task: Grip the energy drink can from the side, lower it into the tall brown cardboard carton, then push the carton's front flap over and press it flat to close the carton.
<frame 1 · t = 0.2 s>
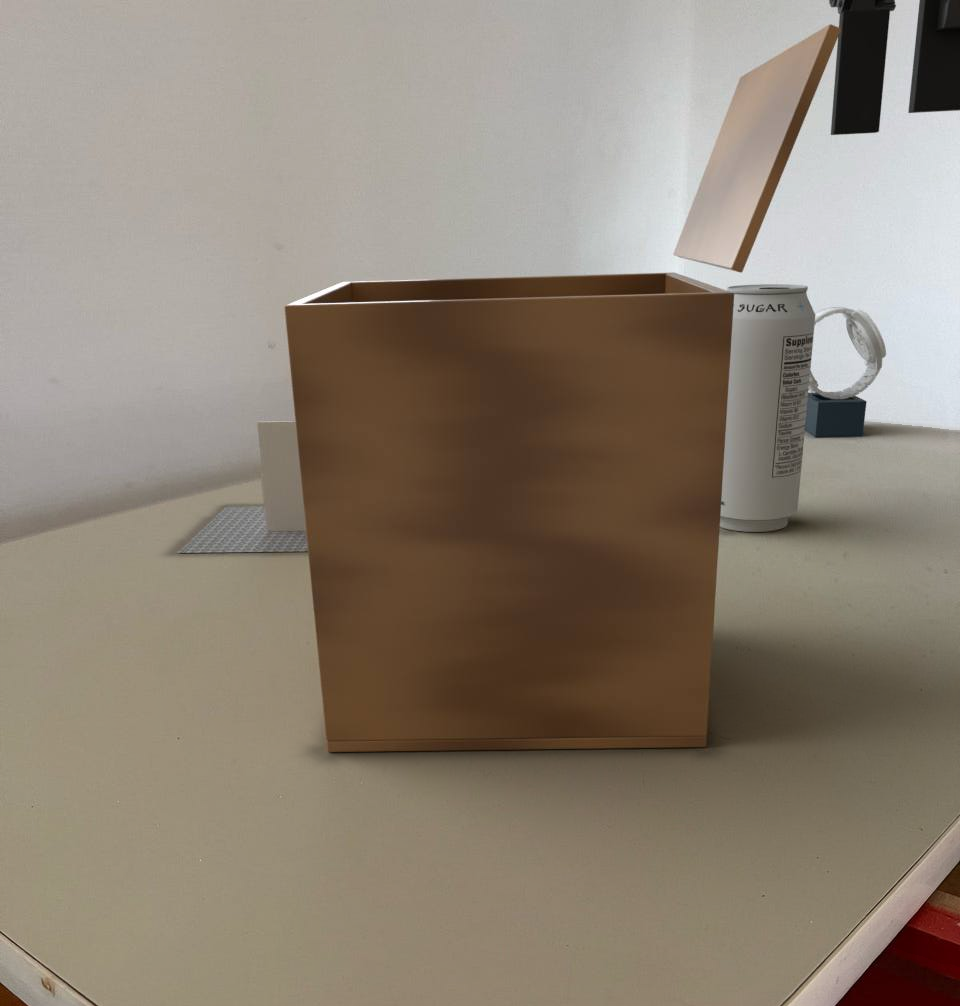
hand: (892, 124, 57), 24 cm above the table, tool pointing down, fingers open, 13 cm apart
energy drink can: (749, 524, 69), on the table
flap: (741, 163, 38), point 21 cm above the table, hinge at 110.0°
watch: (830, 432, 97), on the table
architectural model: (310, 529, 71), on the table
carton: (514, 681, 47), on the table
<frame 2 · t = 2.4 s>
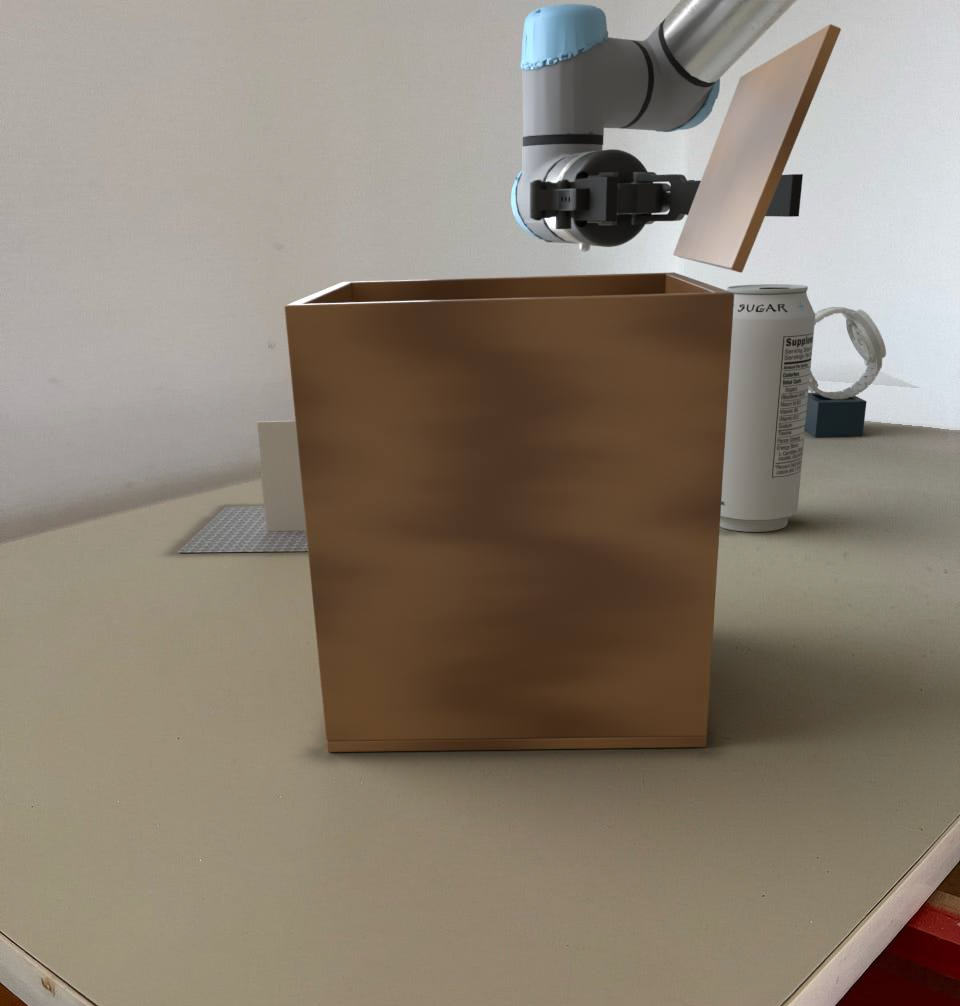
hand: (706, 197, 70), 20 cm above the table, tool horizontal, fingers open, 13 cm apart
nothing on the table moved.
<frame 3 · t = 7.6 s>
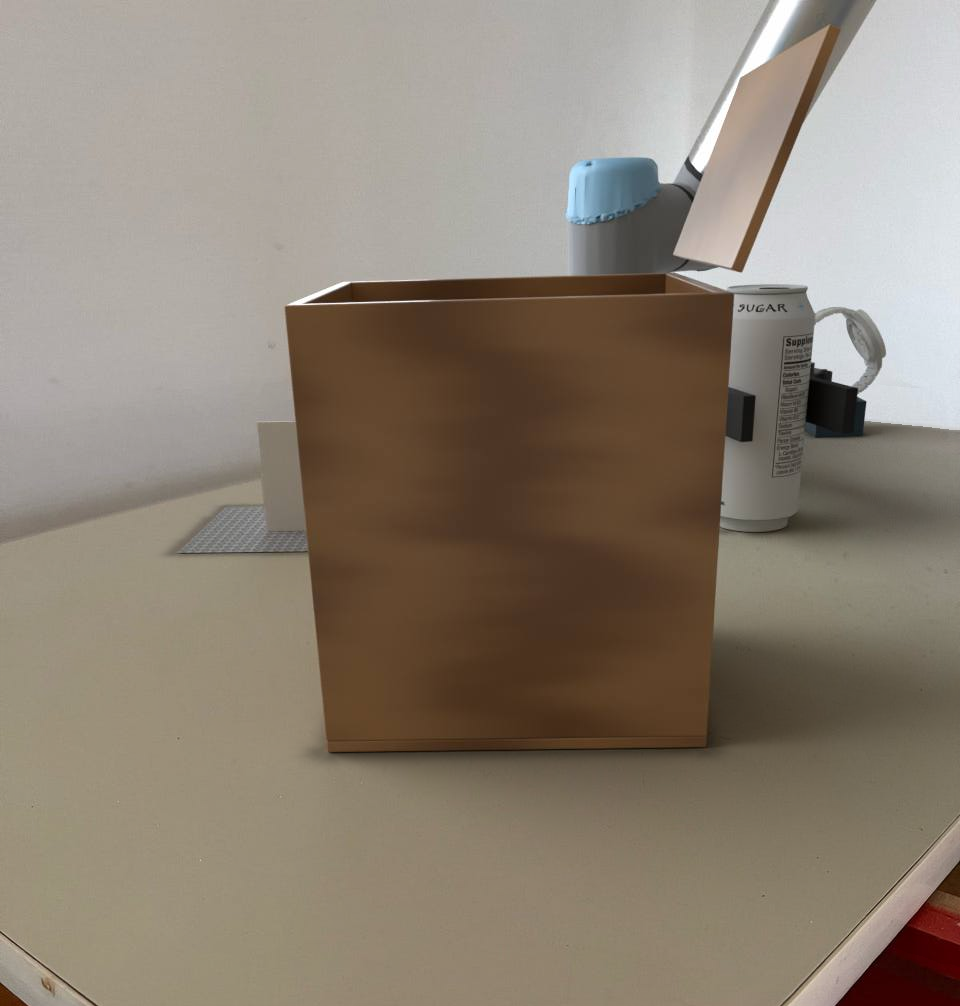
hand: (799, 415, 62), 8 cm above the table, tool horizontal, fingers closed on energy drink can, 6 cm apart
energy drink can: (749, 524, 69), on the table, touching gripper
everything else where it was.
when the fingers open (20 cm above the table, at t = 20.1 s): energy drink can drops 11 cm, resting on carton.
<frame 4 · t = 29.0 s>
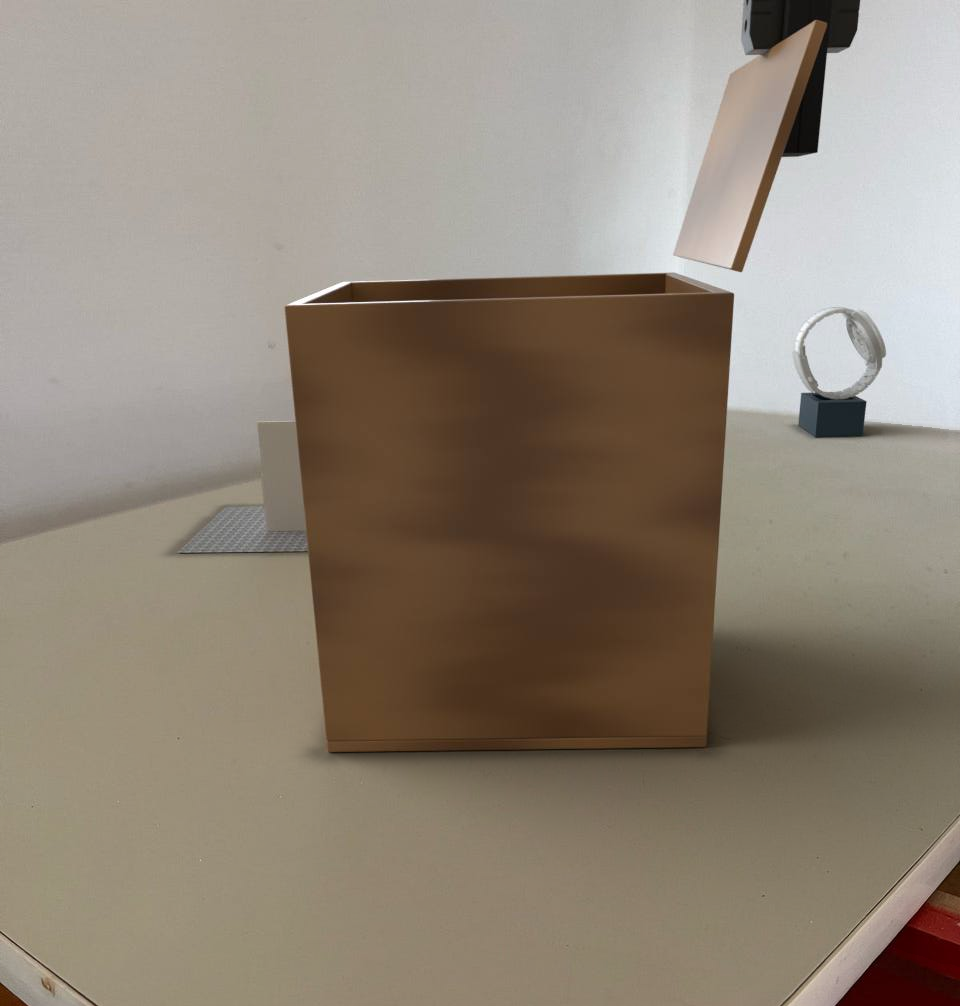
hand: (787, 154, 38), 21 cm above the table, tool pointing down, fingers closed
energy drink can: (512, 673, 47), resting on carton
flap: (735, 161, 38), point 21 cm above the table, hinge at 106.4°, touching gripper
everything else where it was.
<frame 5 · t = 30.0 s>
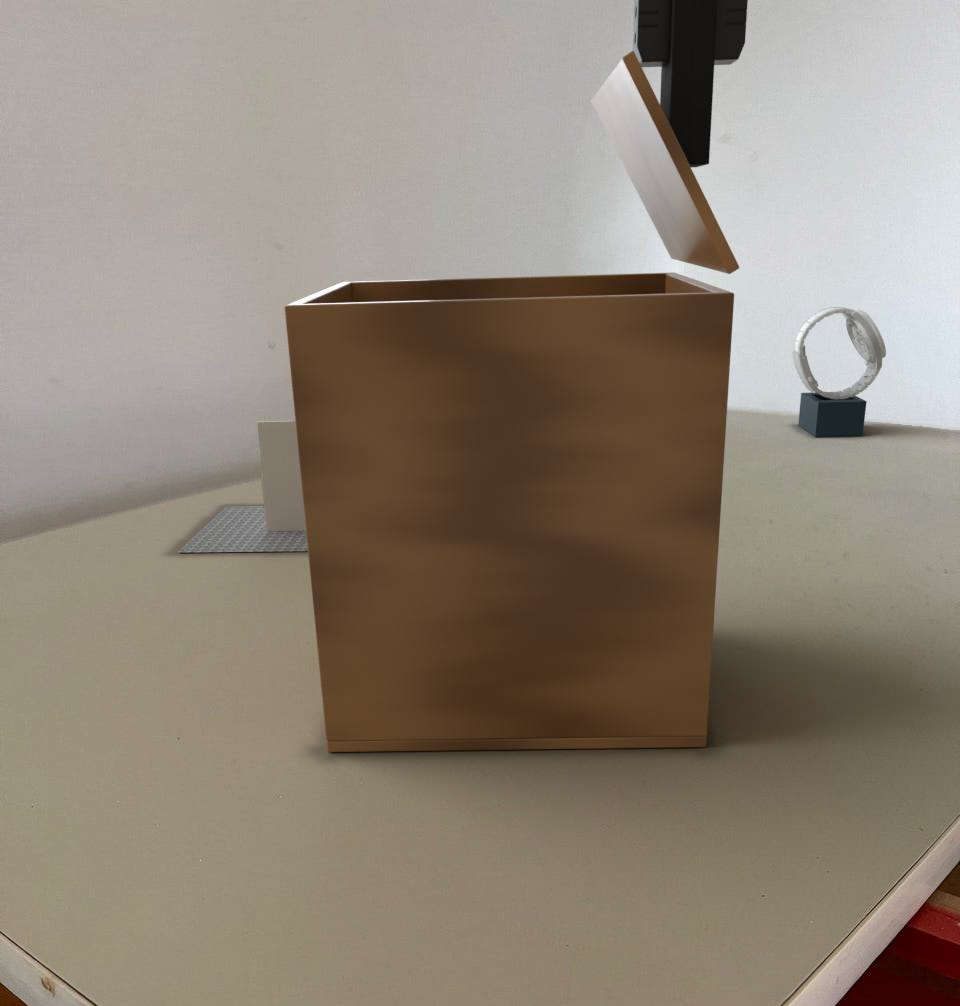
hand: (682, 165, 38), 21 cm above the table, tool pointing down, fingers closed
flap: (655, 173, 39), point 21 cm above the table, hinge at 60.0°
everything else where it was.
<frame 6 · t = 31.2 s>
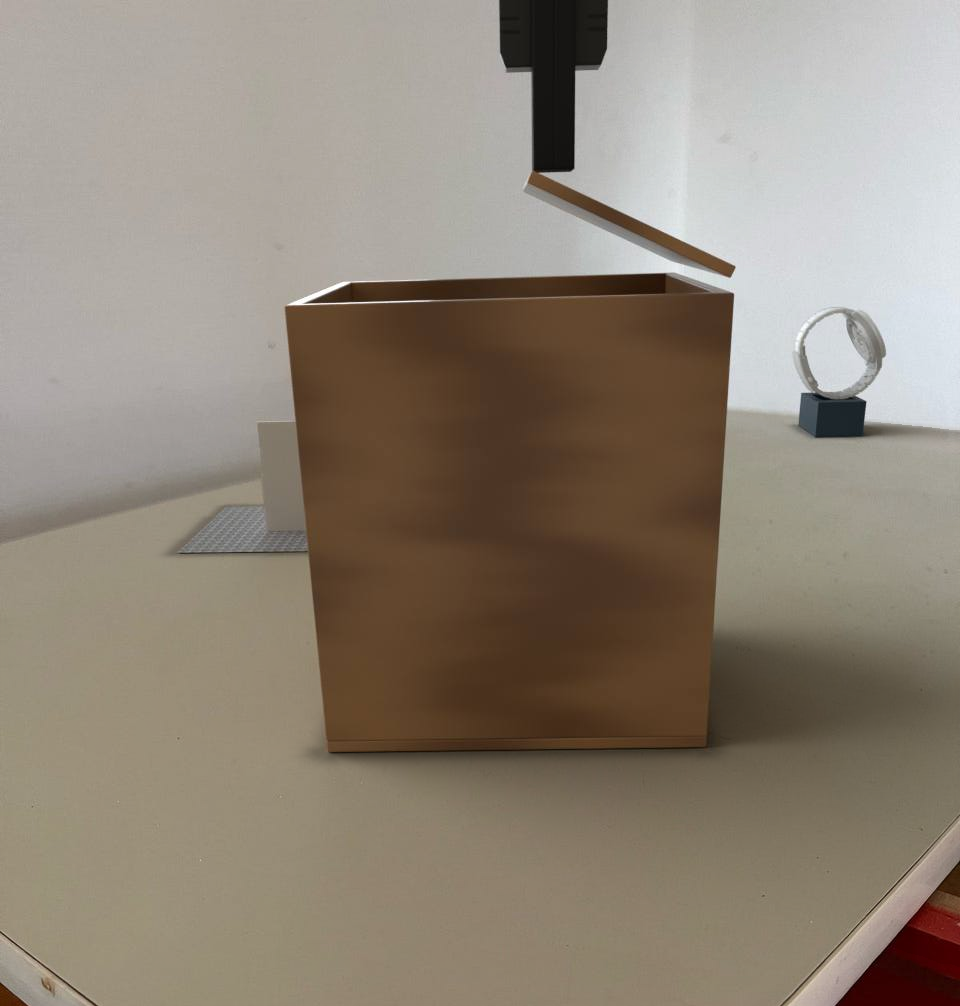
hand: (552, 170, 39), 21 cm above the table, tool pointing down, fingers closed
flap: (613, 223, 39), point 19 cm above the table, hinge at 24.8°
everything else where it was.
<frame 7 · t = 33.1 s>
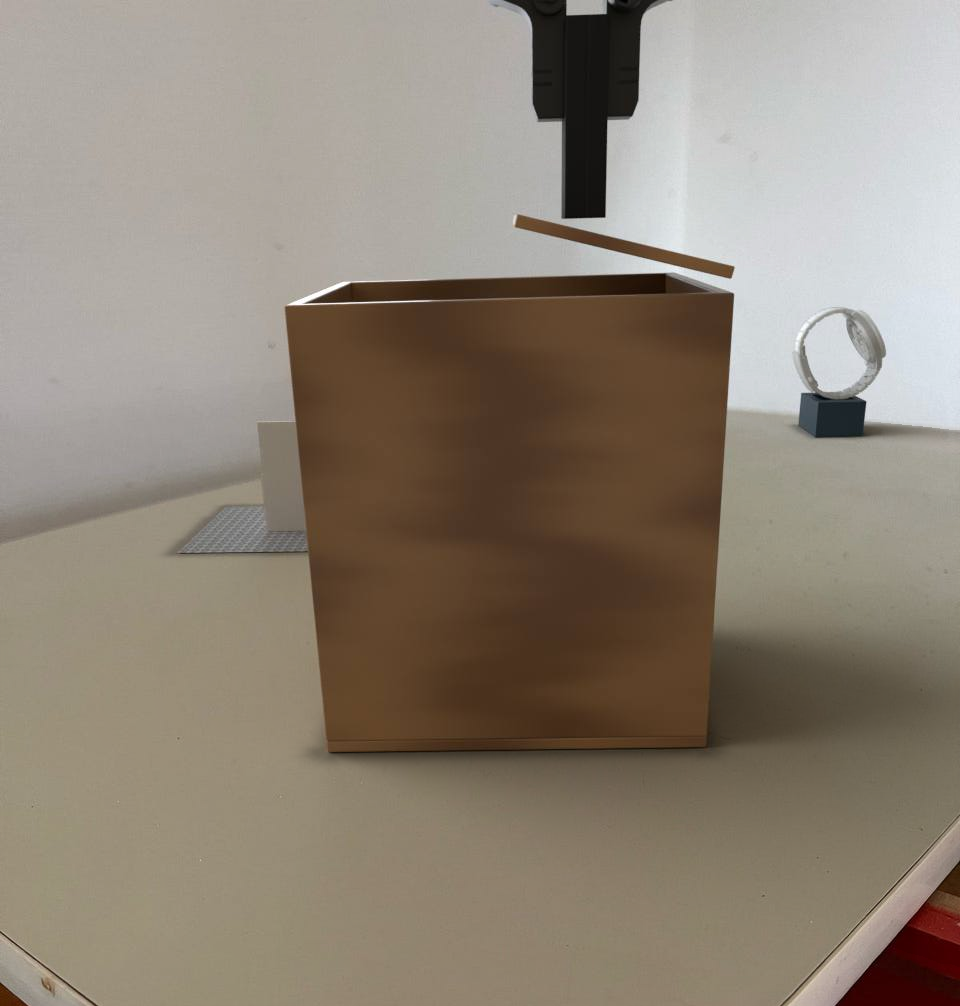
hand: (582, 217, 39), 19 cm above the table, tool pointing down, fingers closed
flap: (607, 242, 39), point 19 cm above the table, hinge at 14.1°, touching gripper
everything else where it was.
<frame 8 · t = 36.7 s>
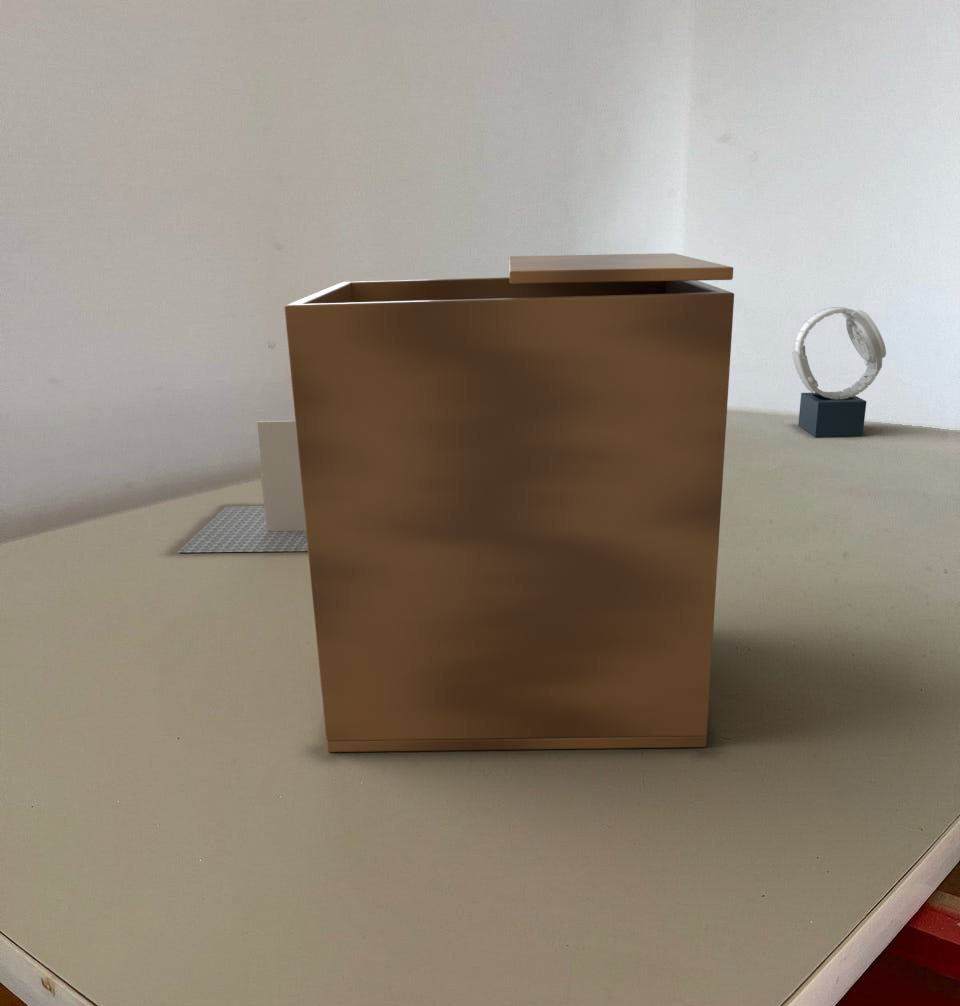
flap: (604, 266, 40), point 18 cm above the table, hinge at 0.6°
everything else where it was.
at the end: energy drink can inside the target area in the carton (0.1 cm from its centre), point 0.3 cm above the carton's base; flap at +1° (first picture: +110°) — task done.
